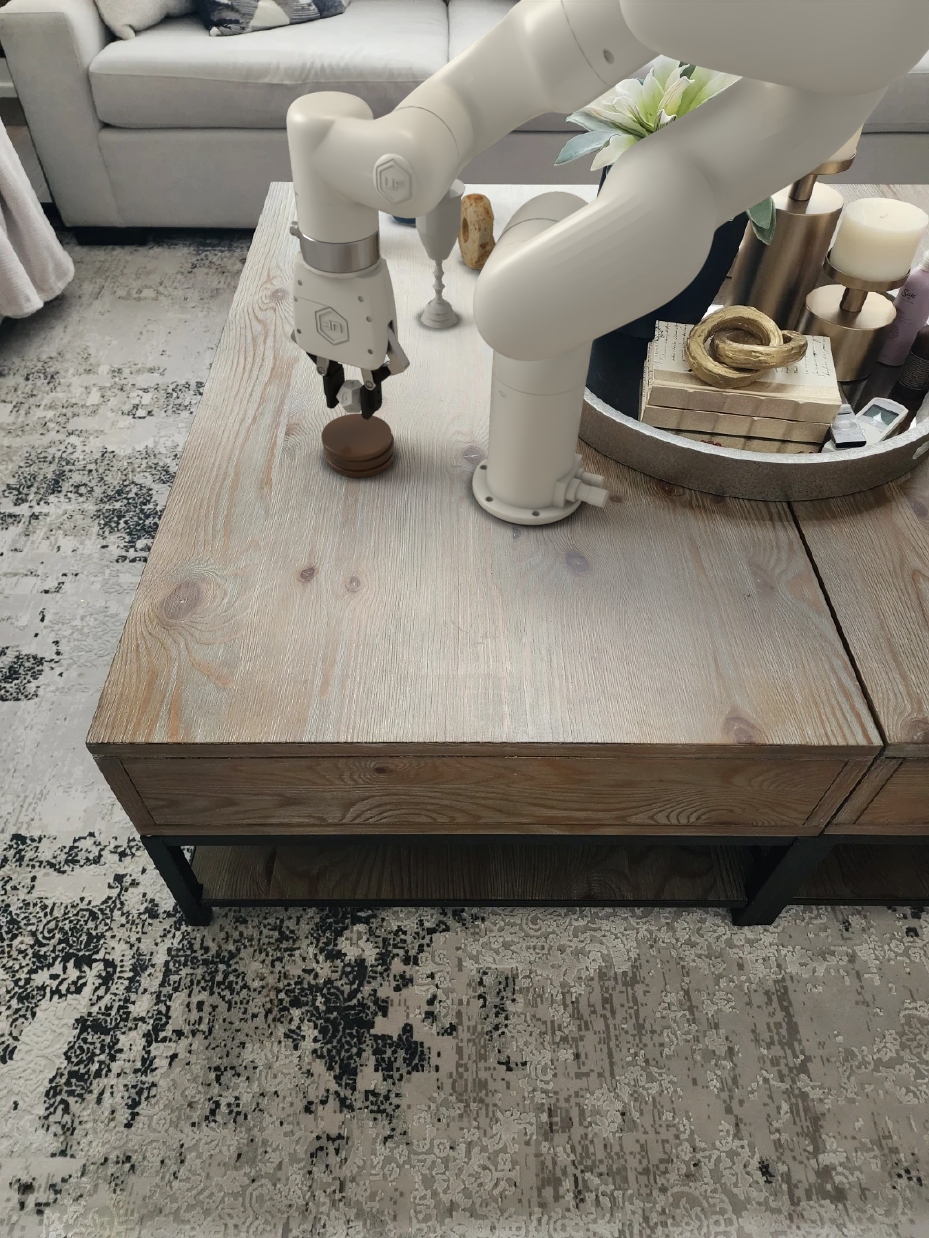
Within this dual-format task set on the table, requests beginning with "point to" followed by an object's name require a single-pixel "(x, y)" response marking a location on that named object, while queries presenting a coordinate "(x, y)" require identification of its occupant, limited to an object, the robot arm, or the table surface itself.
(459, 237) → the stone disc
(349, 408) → the game die
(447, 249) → the chalice
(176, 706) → the table surface
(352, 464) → the chip pile
